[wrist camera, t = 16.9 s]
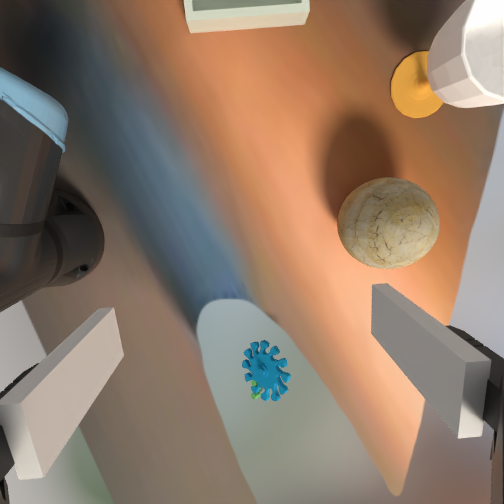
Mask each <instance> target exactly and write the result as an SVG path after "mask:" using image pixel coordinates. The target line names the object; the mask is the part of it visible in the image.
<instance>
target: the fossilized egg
mask: <svg viewBox="0 0 504 504" xmlns="http://www.w3.org/2000/svg"><path fill="white" fill-rule="evenodd" d="M337 227H338V234H339V237H340V240H341V242H342V244H343V246H344V247H345V249H346V250H347V252H348V253H349V254H350V255H351V256H352V257H354V258H355V259H357V260H358V261H359V262H361V263H363V264H365V265H367V266H371V267H375V268H380V269H394V268H400V267H404V266H407V265H410V264H412V263H414V262H416V261H417V260H419V259H421V258H422V257H423V256H424V255H426V254H427V253H428V251H429V250H430V249H431V248H432V246H433V245H434V243H435V242H436V239H437V237H438V233H439V228H440V219H439V214H438V209H437V207H436V205H435V203H434V201H433V200H432V198H431V197H430V196H429V194H428V193H427V192H426V191H425V190H423V189H422V188H421V187H420V186H418V185H416V184H414V183H412V182H410V181H408V180H405V179H401V178H391V177H384V178H378V179H374V180H371V181H368V182H366V183H364V184H362V185H360V186H359V187H357V188H356V189H355V190H353V191H352V192H351V193H350V194H349V195H348V197H347V198H346V199H345V201H344V202H343V204H342V206H341V208H340V211H339V215H338V221H337Z"/></svg>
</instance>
